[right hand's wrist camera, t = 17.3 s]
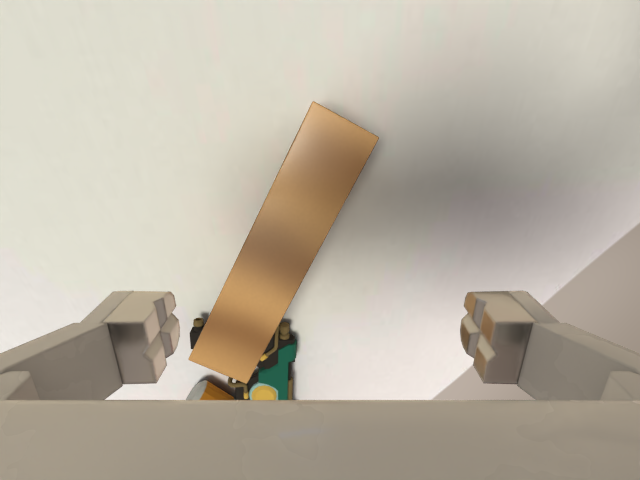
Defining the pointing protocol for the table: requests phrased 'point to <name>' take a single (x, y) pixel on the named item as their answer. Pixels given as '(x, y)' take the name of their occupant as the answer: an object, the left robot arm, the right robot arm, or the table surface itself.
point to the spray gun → (262, 385)
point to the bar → (283, 241)
